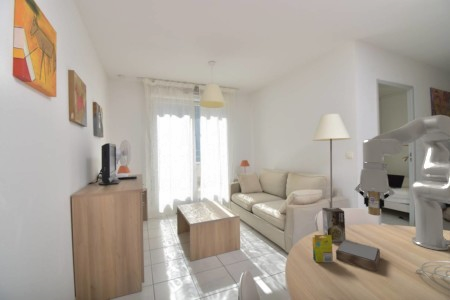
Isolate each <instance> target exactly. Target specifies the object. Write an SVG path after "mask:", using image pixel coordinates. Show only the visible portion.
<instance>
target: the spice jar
mask: <svg viewBox="0 0 450 300" xmlns="http://www.w3.org/2000/svg"><path fill="white" fill-rule="evenodd" d="M372 189H374V188H372ZM367 196H368V207H367V208H368V211H367V213H368V214H369V215H371V216H381V209H380V198H381V197H380V193H378V192H375V191H370V192H368V194H367Z"/></svg>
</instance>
